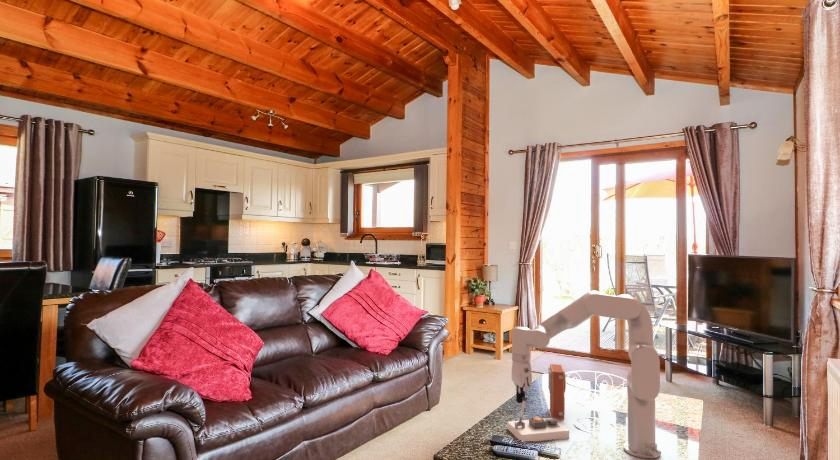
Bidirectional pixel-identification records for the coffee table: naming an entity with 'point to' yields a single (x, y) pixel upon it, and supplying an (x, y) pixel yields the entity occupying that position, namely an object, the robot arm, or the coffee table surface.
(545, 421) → the switch board
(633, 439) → the robot arm
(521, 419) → the toggle lever
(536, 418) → the push button
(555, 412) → the control panel
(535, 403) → the coffee table surface
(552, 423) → the rocker switch
